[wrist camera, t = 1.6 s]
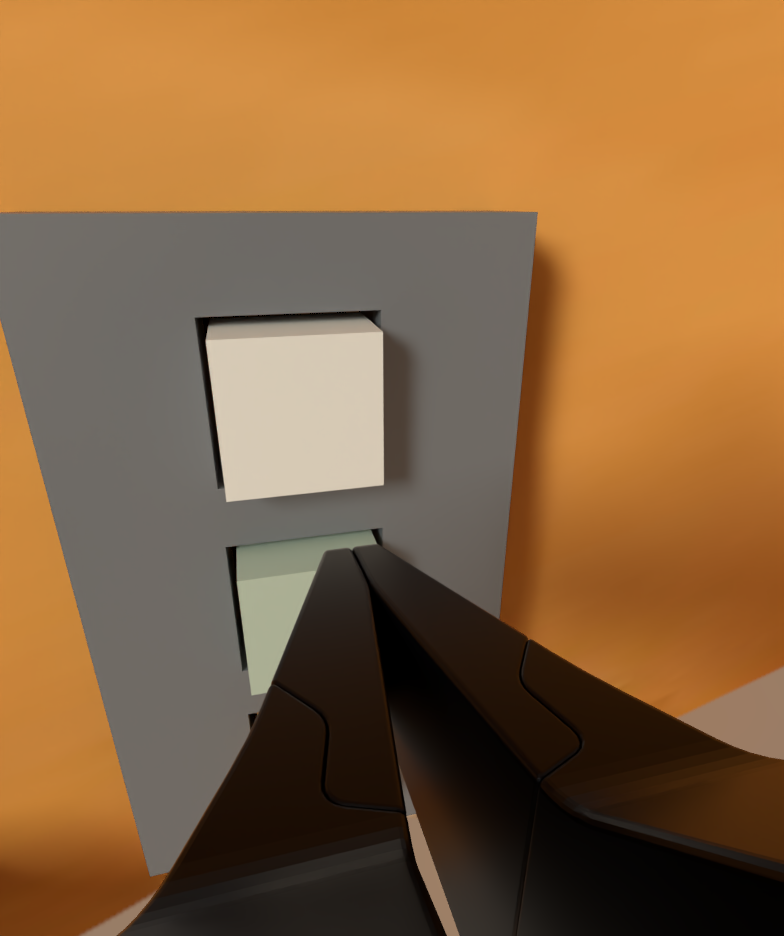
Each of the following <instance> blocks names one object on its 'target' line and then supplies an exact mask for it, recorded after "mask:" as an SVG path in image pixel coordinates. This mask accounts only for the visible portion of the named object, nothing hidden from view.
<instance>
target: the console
mask: <svg viewBox="0 0 784 936" xmlns="http://www.w3.org/2000/svg"><path fill="white" fill-rule="evenodd" d="M537 214H538V212H515V211H209V212H0V320H1V324H2V327H3V331H4V335H5V339H6V342H7V346H8V350H9V354H10V357H11V361H12V365H13V368H14V372H15V376H16V380H17V383H18V387H19V391H20V394H21V398H22V402H23V406H24V409H25V413H26V417H27V420H28V424H29V428H30V432H31V435H32V439H33V443H34V447H35V450H36V454H37V458H38V461H39V465H40V469H41V473H42V476H43V480H44V484H45V487H46V491H47V495H48V499H49V502H50V506H51V510H52V514H53V517H54V521H55V525H56V528H57V532H58V536H59V540H60V543H61V547H62V551H63V554H64V558H65V562H66V566H67V569H68V573H69V577H70V581H71V584H72V588H73V592H74V595H75V599H76V603H77V607H78V610H79V614H80V618H81V621H82V625H83V629H84V633H85V636H86V640H87V644H88V648H89V651H90V655H91V659H92V662H93V666H94V670H95V674H96V677H97V681H98V685H99V688H100V692H101V696H102V700H103V703H104V707H105V711H106V715H107V718H108V722H109V726H110V729H111V733H112V737H113V741H114V744H115V748H116V752H117V755H118V759H119V763H120V767H121V770H122V774H123V778H124V781H125V785H126V789H127V793H128V796H129V800H130V804H131V808H132V811H133V815H134V819H135V822H136V826H137V830H138V834H139V837H140V841H141V845H142V848H143V852H144V856H145V860H146V863H147V867H148V871H149V875H150V877H151V876H155V875H159V874H163V873H168V872H169V871H170V870H171V868H172V866H173V865H174V863H175V861H176V860H177V858H178V856H179V855H180V853H181V851H182V849H183V848H184V846H185V844H186V843H187V841H188V839H189V838H190V836H191V834H192V833H193V831H194V829H195V827H196V826H197V824H198V822H199V821H200V819H201V817H202V816H203V814H204V812H205V811H206V809H207V807H208V805H209V804H210V802H211V800H212V799H213V797H214V795H215V794H216V792H217V790H218V789H219V787H220V785H221V783H222V782H223V780H224V778H225V777H226V775H227V773H228V772H229V770H230V768H231V766H232V764H233V762H234V761H235V759H236V757H237V755H238V753H239V752H240V750H241V748H242V746H243V744H244V742H245V741H246V739H247V737H248V735H249V732H250V730H251V728H252V726H253V724H254V714H253V713H258V712H259V710H260V708H261V706H262V703H263V701H264V698H265V696H266V694H267V693H263V694H257V695H251V687H250V680H249V672H248V664H247V656H246V649H245V641H244V633H243V625H242V618H241V613H240V606H239V598H238V590H237V582H236V575H235V567H234V559H233V552H232V546H239V545H247V544H255V543H264V542H272V541H280V540H288V539H296V538H304V537H312V536H320V535H328V534H336V533H344V532H352V531H360V530H368V529H371V531H372V534H373V536H374V538H375V541H376V543H377V544H378V545H380V546H382V547H384V548H385V549H387V550H389V551H390V552H392V553H393V554H395V555H397V556H398V557H400V558H401V559H403V560H405V561H406V562H408V563H409V564H411V565H413V566H414V567H416V568H417V569H419V570H421V571H422V572H424V573H426V574H427V575H429V576H430V577H432V578H434V579H435V580H437V581H438V582H440V583H442V584H443V585H445V586H446V587H448V588H450V589H451V590H453V591H454V592H456V593H458V594H459V595H461V596H463V597H464V598H466V599H467V600H469V601H471V602H472V603H474V604H475V605H477V606H479V607H480V608H482V609H483V610H485V611H487V612H488V613H490V614H492V615H493V616H495V617H496V618H498V619H499V618H500V607H501V596H502V586H503V575H504V565H505V554H506V543H507V533H508V522H509V511H510V501H511V490H512V480H513V469H514V458H515V448H516V437H517V427H518V416H519V405H520V395H521V384H522V373H523V363H524V352H525V342H526V331H527V320H528V310H529V299H530V288H531V278H532V267H533V257H534V246H535V235H536V225H537ZM344 311H361V313H362V314H363V315H364V316H365V317H366V318H367V319H369V320H370V321H371V322H372V323H373V324H375V325H376V326H377V327H378V328H379V329H380V330H382V331H383V426H384V485H380V486H371V487H362V488H352V489H343V490H334V491H324V492H315V493H306V494H296V495H287V496H278V497H269V498H259V499H250V500H241V501H231V502H226V494H225V486H224V478H223V471H222V463H221V455H220V451H219V444H218V436H217V428H216V420H215V413H214V405H213V397H212V390H211V382H210V374H209V366H208V359H207V351H206V343H205V336H204V328H203V320H202V317H220V316H245V315H270V314H295V313H319V312H344ZM399 770H400V776H401V782H402V788H403V795H404V801H405V807H406V816H408V815H412V814H416V812H415V809H414V806H413V803H412V800H411V798H410V795H409V792H408V789H407V786H406V784H405V781H404V778H403V775H402V772H401V769H400V767H399Z"/></svg>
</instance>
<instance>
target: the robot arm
mask: <svg viewBox="0 0 784 936" xmlns="http://www.w3.org/2000/svg"><path fill="white" fill-rule="evenodd" d="M399 767H400V769H401V772H402V775H403V778H404V781H405V784H406V786H407V789H408V792H409V795H410V798H411V800H412V803H413V806H414V809H415V812H416V814H417V817H418V820H419V823H420V826H421V828H422V831H423V834H424V837H425V839H426V842H427V845H428V848H429V851H430V854H431V856H432V859H433V862H434V865H435V867H436V870H437V873H438V876H439V879H440V882H441V884H442V887H443V890H444V893H445V896H446V898H447V901H448V904H449V907H450V910H451V912H452V915H453V918H454V921H455V923H456V927H457V929H458V932H459V935H460V936H784V760H781V759H775V758H769V757H765V756H761V755H758V754H754V753H750V752H747V751H745V750H742V749H739V748H736V747H733V746H731V745H729V744H727V743H725V742H723V741H720V740H718V739H716V738H714V737H712V736H710V735H708V734H706V733H704V732H702V731H700V730H698V729H696V728H694V727H692V726H690V725H688V724H686V723H684V722H682V721H681V720H679V719H677V718H675V717H673V716H671V715H669V714H667V713H665V712H663V711H661V710H659V709H657V708H655V707H653V706H651V705H649V704H647V703H645V702H643V701H641V700H639V699H637V698H635V697H633V696H631V695H629V694H627V693H625V692H623V691H621V690H619V689H618V688H616V687H614V686H612V685H610V684H608V683H606V682H604V681H603V680H601V679H599V678H597V677H595V676H593V675H591V674H589V673H587V672H586V671H584V670H582V669H580V668H579V667H577V666H575V665H573V664H572V663H570V662H568V661H567V660H565V659H563V658H562V657H560V656H558V655H556V654H555V653H553V652H551V651H550V650H548V649H547V648H545V647H543V646H542V645H540V644H539V643H537V642H535V641H534V640H532V639H530V640H528V638H527V636H525V635H524V634H522V633H520V632H519V631H517V630H516V629H514V628H512V627H511V626H509V625H508V624H506V623H504V622H503V621H501V620H500V619H498V618H496V617H495V616H493V615H492V614H490V613H488V612H487V611H485V610H483V609H482V608H480V607H479V606H477V605H475V604H474V603H472V602H471V601H469V600H467V599H466V598H464V597H463V596H461V595H459V594H458V593H456V592H454V591H453V590H451V589H450V588H448V587H446V586H445V585H443V584H442V583H440V582H438V581H437V580H435V579H434V578H432V577H430V576H429V575H427V574H426V573H424V572H422V571H421V570H419V569H417V568H416V567H414V566H413V565H411V564H409V563H408V562H406V561H405V560H403V559H401V558H400V557H398V556H397V555H395V554H393V553H392V552H390V551H389V550H387V549H385V548H384V547H382V546H380V545H378V544H370V545H363V546H356V547H354V548H353V549H352V550H351V549H350V548H339V549H332V550H326V551H325V552H324V554H323V556H322V558H321V561H320V563H319V566H318V568H317V571H316V573H315V576H314V578H313V581H312V583H311V586H310V588H309V591H308V593H307V595H306V598H305V600H304V603H303V605H302V608H301V610H300V613H299V615H298V618H297V620H296V623H295V625H294V628H293V630H292V633H291V635H290V637H289V640H288V642H287V645H286V647H285V650H284V652H283V655H282V657H281V660H280V662H279V665H278V667H277V670H276V672H275V675H274V677H273V680H272V682H271V686H270V687H269V689H268V691H267V694H266V696H265V698H264V701H263V703H262V706H261V708H260V710H259V713H258V715H257V717H256V719H255V721H254V724H253V726H252V728H251V730H250V732H249V735H248V737H247V739H246V741H245V742H244V744H243V746H242V748H241V750H240V752H239V753H238V755H237V757H236V759H235V761H234V762H233V764H232V766H231V768H230V770H229V772H228V773H227V775H226V777H225V778H224V780H223V782H222V783H221V785H220V787H219V789H218V790H217V792H216V794H215V795H214V797H213V799H212V800H211V802H210V804H209V805H208V807H207V809H206V811H205V812H204V814H203V816H202V817H201V819H200V821H199V822H198V824H197V826H196V827H195V829H194V831H193V833H192V834H191V836H190V838H189V839H188V841H187V843H186V844H185V846H184V848H183V849H182V851H181V853H180V855H179V856H178V858H177V860H176V861H175V863H174V865H173V866H172V868H171V870H170V871H169V873H168V875H167V876H166V878H165V879H164V881H163V883H162V884H161V886H160V887H159V889H158V890H157V891H156V893H155V894H154V896H153V897H152V898H151V900H150V901H149V902H148V904H147V905H146V906H145V907H144V908H143V910H142V911H141V912H140V913H139V914H138V916H137V917H136V918H135V919H134V920H133V921H132V922H131V923H130V924H129V925H128V926H127V927H126V928H125V929H124V930H123V931H122V932H120V933H119V934H118V935H117V936H447V935H446V933H445V931H444V928H443V926H442V923H441V921H440V919H439V916H438V914H437V911H436V910H435V907H434V905H433V902H432V900H431V898H430V895H429V893H428V890H427V888H426V885H425V883H424V881H423V878H422V876H421V874H420V871H419V869H418V866H417V863H416V860H415V856H414V852H413V847H412V842H411V837H410V832H409V826H408V821H407V817H406V807H405V801H404V795H403V788H402V782H401V776H400V770H399Z"/></svg>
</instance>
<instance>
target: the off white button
mask: <svg viewBox="0 0 784 936" xmlns="http://www.w3.org/2000/svg"><path fill="white" fill-rule="evenodd" d="M206 347H207V355H208V362H209V370H210V378H211V386H212V393H213V401H214V409H215V417H216V424H217V432H218V440H219V447H220V455H221V463H222V471H223V478H224V486H225V494H226V502H231V501H241V500H250V499H259V498H269V497H278V496H287V495H296V494H306V493H315V492H324V491H334V490H343V489H352V488H362V487H371V486H380V485H384V426H383V331H382V330H380V329H379V328H378V327H377V326H376V325H375V324H373V323H372V322H371V321H370V320H369V319H367V318H366V317H365V316H364V315H363V314H362V313H337V314H313V315H288V316H264V317H239V318H215V319H210V320H209V325H208V331H207V336H206Z"/></svg>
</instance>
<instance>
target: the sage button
mask: <svg viewBox="0 0 784 936" xmlns="http://www.w3.org/2000/svg"><path fill="white" fill-rule="evenodd" d="M370 544H377V543H376V541H375V538H374V536H373V534H372V531H371V529H368V530H360V531H352V532H344V533H336V534H328V535H320V536H312V537H304V538H296V539H288V540H280V541H272V542H264V543H255V544H247V545H239V546H236V558H237V587H238V594H239V602H240V610H241V618H242V625H243V633H244V641H245V649H246V656H247V664H248V672H249V680H250V687H251V695H257V694H263V693H267V691H268V689H269V687H270V686H271V682H272V680H273V677H274V675H275V672H276V670H277V667H278V665H279V662H280V660H281V657H282V655H283V652H284V650H285V647H286V645H287V642H288V640H289V637H290V635H291V633H292V630H293V628H294V625H295V623H296V620H297V618H298V615H299V613H300V610H301V608H302V605H303V603H304V600H305V598H306V595H307V593H308V591H309V588H310V586H311V583H312V581H313V578H314V576H315V573H316V571H317V568H318V566H319V563H320V561H321V558H322V556H323V554H324V552H325V551H326V550H332V549H339V548H350V549H351V550H352V549H353V548H354V547H356V546H363V545H370Z"/></svg>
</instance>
